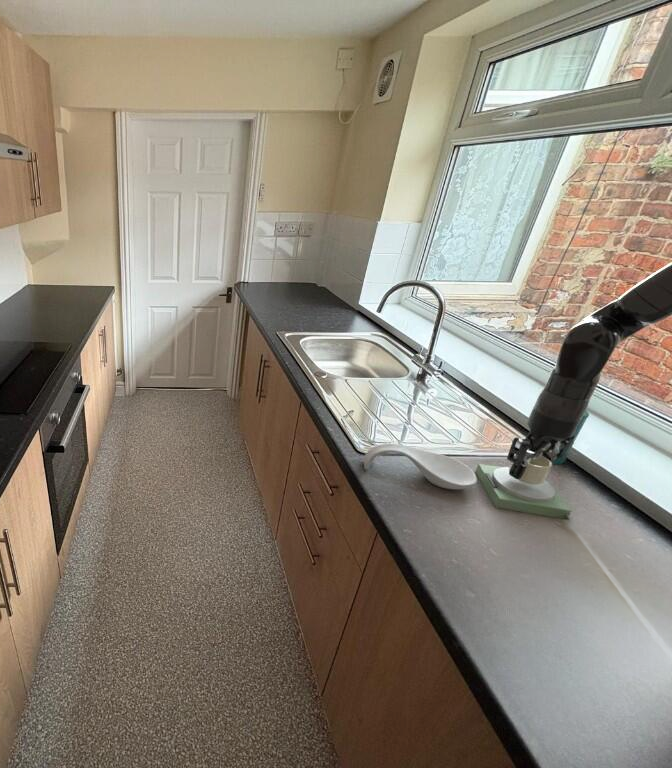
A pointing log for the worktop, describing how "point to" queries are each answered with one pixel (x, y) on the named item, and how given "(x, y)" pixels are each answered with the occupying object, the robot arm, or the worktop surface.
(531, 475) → the bowl
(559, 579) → the worktop surface
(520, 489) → the scale
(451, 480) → the spoon rest
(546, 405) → the robot arm
